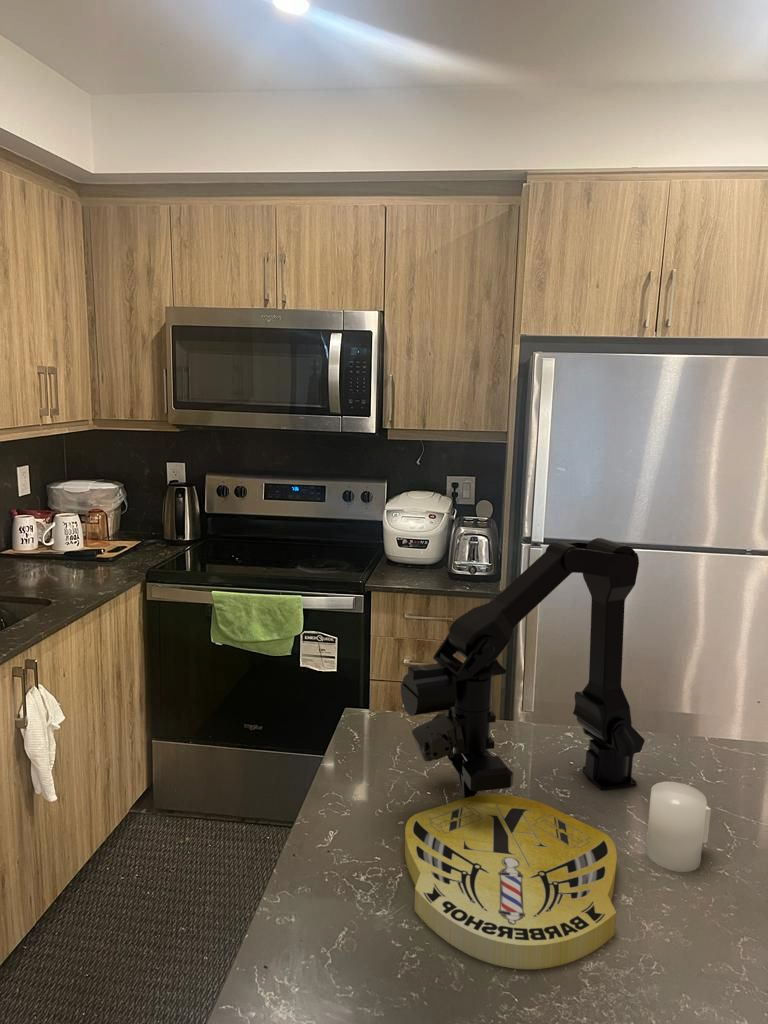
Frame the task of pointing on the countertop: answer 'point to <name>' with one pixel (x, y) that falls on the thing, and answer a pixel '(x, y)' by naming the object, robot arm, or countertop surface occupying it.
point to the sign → (512, 880)
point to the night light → (677, 826)
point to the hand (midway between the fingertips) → (467, 801)
